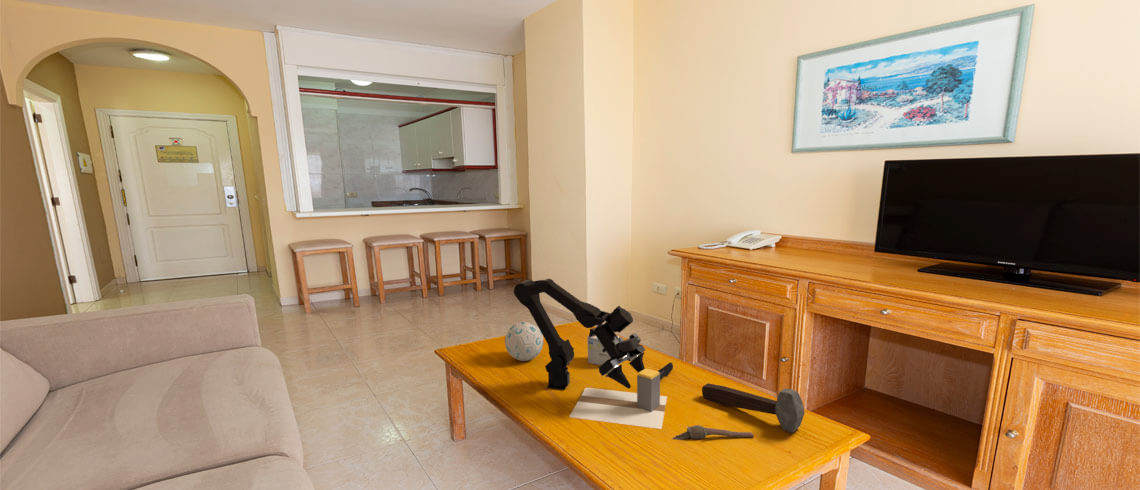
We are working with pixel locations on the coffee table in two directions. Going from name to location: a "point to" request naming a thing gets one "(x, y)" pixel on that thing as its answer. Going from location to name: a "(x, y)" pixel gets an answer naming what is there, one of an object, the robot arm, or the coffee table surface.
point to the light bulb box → (596, 351)
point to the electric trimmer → (665, 370)
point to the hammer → (760, 403)
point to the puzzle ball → (524, 341)
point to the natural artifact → (709, 433)
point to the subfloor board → (617, 408)
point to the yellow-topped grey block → (648, 389)
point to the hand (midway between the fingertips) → (638, 382)
